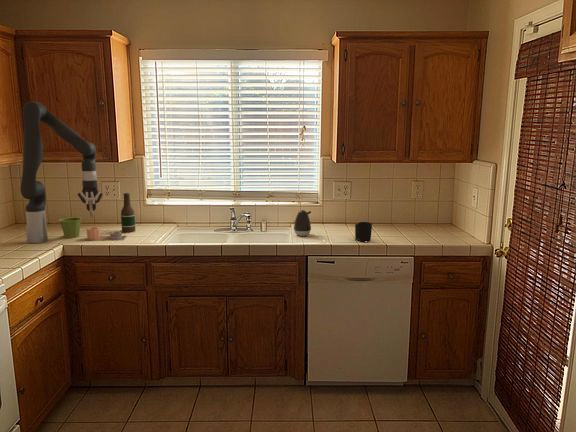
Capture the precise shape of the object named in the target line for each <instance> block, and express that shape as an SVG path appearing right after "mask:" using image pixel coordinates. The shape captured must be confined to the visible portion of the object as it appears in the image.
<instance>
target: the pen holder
mask: <svg viewBox="0 0 576 432" xmlns="http://www.w3.org/2000/svg"><path fill="white" fill-rule="evenodd" d="M354 228H355V229H354V235H355V236H354V239H355V241H356V240H357V241H364V242H363V243H366V242H365V241H370V240H372V230H373V223H372V222H368V221H360V222H358V223H354ZM357 241H356V242H357ZM370 242H371V241H370Z"/></svg>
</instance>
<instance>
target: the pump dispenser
mask: <svg viewBox="0 0 576 432" xmlns="http://www.w3.org/2000/svg"><path fill="white" fill-rule="evenodd" d="M311 213H312V211H311V210H309V211H306V210H303V209H302V210H301V209H300V210H299V211H298V212H297V215H296V216H295V219H294V224H293V230H294V233H295V235H296V236H298V235H299V236H298V237H307V236H309V234H310V232H311V230H312V225H311V220H310V217H309V214H311Z"/></svg>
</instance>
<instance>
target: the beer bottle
mask: <svg viewBox="0 0 576 432" xmlns="http://www.w3.org/2000/svg"><path fill="white" fill-rule="evenodd" d="M122 196H123V207H122V209H121V210H120V222H121V233H124V234H126V233H127V234H130V233H135V232H136V217H135V216H136V215H135V211H134V209H133V207H132V206H131V205H132V204H131V198H130V197H131V193H129V192H126V193H125V192H124V193H122Z"/></svg>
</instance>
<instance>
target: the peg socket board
mask: <svg viewBox="0 0 576 432" xmlns="http://www.w3.org/2000/svg"><path fill="white" fill-rule="evenodd" d="M122 233H123V232H122V231H113V232H110V235H102V236H101V235H100V239H97V240H88V239H87V238H85V239H83V242H107V241H110V242H111V241H124V240H125V239H126V238H127V237H128V235H123V234H122Z"/></svg>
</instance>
